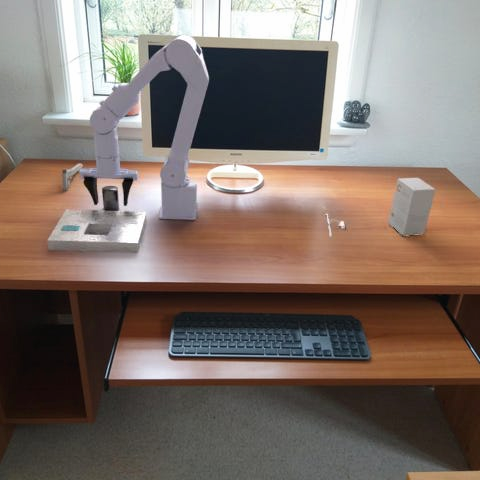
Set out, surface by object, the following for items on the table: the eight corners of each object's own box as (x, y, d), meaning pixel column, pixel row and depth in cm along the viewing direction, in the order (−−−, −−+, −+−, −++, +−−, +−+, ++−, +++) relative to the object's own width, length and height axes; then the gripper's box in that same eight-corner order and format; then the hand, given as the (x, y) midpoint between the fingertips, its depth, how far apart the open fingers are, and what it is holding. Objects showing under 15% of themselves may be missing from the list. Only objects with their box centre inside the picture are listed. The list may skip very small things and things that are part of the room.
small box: (424, 235, 130) (436, 189, 124) (402, 237, 129) (413, 190, 122) (407, 221, 137) (418, 177, 131) (387, 223, 136) (397, 178, 129)
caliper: (67, 192, 142) (65, 171, 139) (63, 192, 142) (61, 171, 139) (83, 166, 160) (81, 147, 157) (79, 166, 160) (77, 147, 157)
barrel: (120, 206, 135) (118, 185, 132) (117, 213, 132) (116, 192, 129) (105, 206, 135) (103, 185, 132) (102, 212, 132) (100, 191, 129)
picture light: (325, 214, 139) (326, 207, 138) (340, 216, 139) (342, 209, 138) (329, 238, 127) (330, 231, 126) (346, 240, 127) (347, 232, 126)
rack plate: (146, 220, 129) (146, 211, 128) (137, 252, 115) (137, 242, 114) (67, 218, 128) (66, 209, 126) (48, 249, 114) (47, 239, 112)
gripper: (138, 150, 130) (140, 198, 137) (81, 148, 129) (86, 196, 136) (134, 160, 124) (137, 209, 130) (75, 157, 123) (80, 207, 130)
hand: (111, 203), depth 133 cm, fingers open, 7 cm apart
